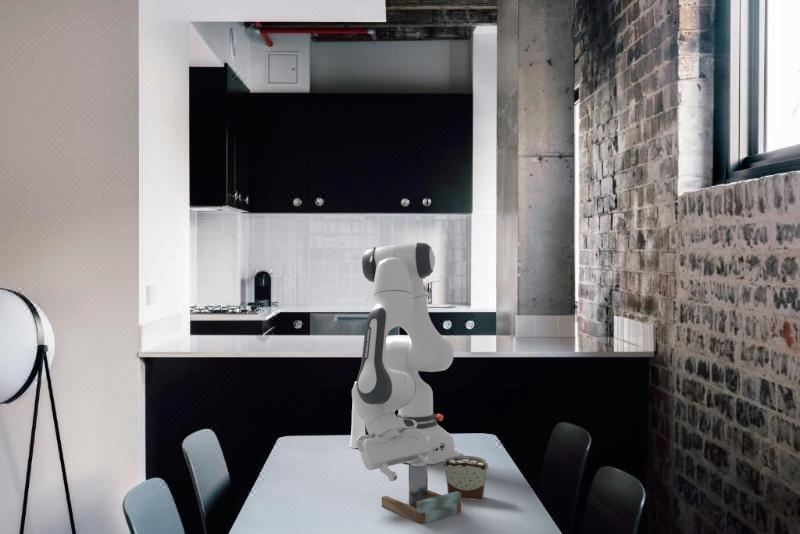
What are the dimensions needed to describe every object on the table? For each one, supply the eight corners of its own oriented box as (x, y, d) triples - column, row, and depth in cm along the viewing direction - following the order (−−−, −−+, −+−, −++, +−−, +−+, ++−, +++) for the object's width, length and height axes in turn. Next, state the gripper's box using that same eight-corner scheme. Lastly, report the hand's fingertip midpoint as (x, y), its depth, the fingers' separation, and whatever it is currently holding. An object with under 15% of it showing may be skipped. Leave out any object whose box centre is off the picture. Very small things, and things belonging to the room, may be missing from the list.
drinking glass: (419, 504, 192) (419, 459, 192) (431, 509, 189) (431, 463, 188) (405, 507, 190) (404, 462, 189) (416, 513, 186) (416, 466, 186)
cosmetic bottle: (370, 446, 252) (370, 381, 252) (357, 449, 248) (356, 383, 248) (359, 443, 257) (358, 379, 256) (345, 446, 253) (345, 381, 252)
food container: (493, 494, 200) (493, 457, 200) (488, 501, 194) (488, 463, 194) (449, 489, 204) (448, 453, 204) (442, 496, 198) (442, 459, 198)
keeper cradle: (421, 496, 199) (421, 477, 198) (461, 512, 186) (461, 492, 186) (381, 506, 191) (381, 487, 191) (420, 523, 178) (420, 503, 178)
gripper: (358, 431, 193) (381, 477, 185) (419, 419, 205) (443, 462, 197) (349, 444, 196) (371, 490, 189) (410, 432, 209) (432, 475, 201)
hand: (408, 476), depth 193 cm, fingers open, 8 cm apart
